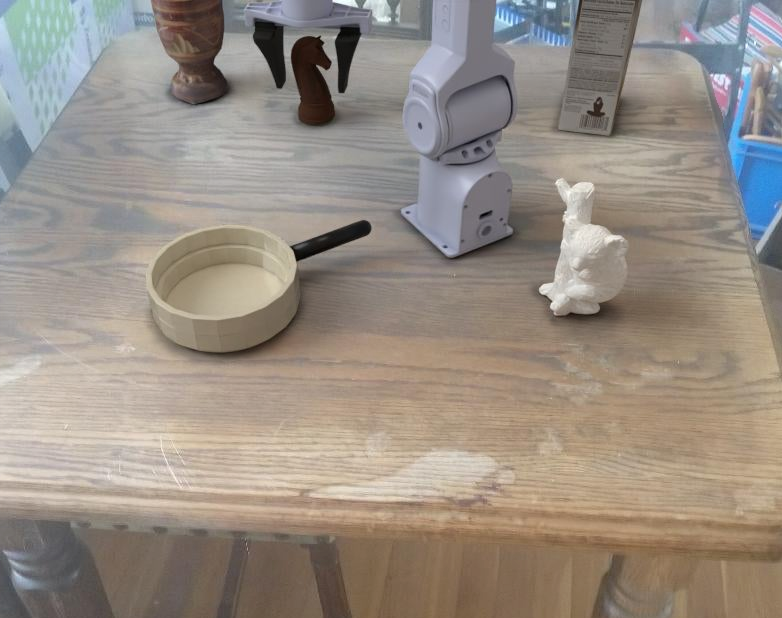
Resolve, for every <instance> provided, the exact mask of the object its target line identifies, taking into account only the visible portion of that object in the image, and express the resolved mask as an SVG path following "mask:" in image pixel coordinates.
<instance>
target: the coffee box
mask: <svg viewBox="0 0 782 618" xmlns="http://www.w3.org/2000/svg"><path fill="white" fill-rule="evenodd" d="M642 3H643V0H578V6H577V12H576V17H575V24H574V31H573V34H572V41H571V46H570V47H571V48H570V53H569V54H570V55H569V58H568V65H567V71H566V78H565V83H564V89H563V95H562V101H561V106H560V113H559V119H558V120H559V121H558V126H557V129H558V130H559V131H565V132H572V133H573V132H574V133H581V134H582V133H583V134H589V135H591V134H592V135H599V136H608V137H610V136H611V135H612V132H613V128H614V125H615V121H616V118H617V115H618V114H617V113H618V109H619V104H620V101H621V97H622V92H623V88H624V84H625V80H626V75H627V71H628V68H629V62H630V57H631V53H632V49H633V45H634V40H635V35H636V31H637V26H638V22H639V18H640V12H641V9H642Z"/></svg>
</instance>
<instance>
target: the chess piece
mask: <svg viewBox="0 0 782 618" xmlns="http://www.w3.org/2000/svg"><path fill="white" fill-rule="evenodd" d="M321 38H322V35H318V36H315V35H314V36H313V35H305V36H302V37H300V38H298V39H297V40H295V42H294V43H293V45H292V48H291V52H290V64H291V69H292V73H293V77H294V80H295V84H296V87H297V88H296V89H297V91H298V95H299V100H300V102H299V103H298V106H297V108H298V109H297V110H298V112H297V118H298V120H299V121H300V122H301V124H304V125H306V126H311V127H321V126H324V125H328V124H330V123H332V122H333V120H335V118H336V109H335V104H334V101H333V100H332V98H333V97H332V94H331V91H330V87H329V85H328V83H327V80H326V78H325V77H324V75H323V73H322V72H321V70H320V68H319V67H321V68H322V69H324V70H325V71H329V70H330V69H331V68H332V64H333V61H332V60H331V59H330V57H329V56H328V55H327V53H326V52H325V50H324V47H323V46H324V45H325V41H324V40H322V39H321Z"/></svg>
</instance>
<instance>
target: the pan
mask: <svg viewBox="0 0 782 618" xmlns="http://www.w3.org/2000/svg"><path fill="white" fill-rule="evenodd" d="M144 276H145V288H146V293H147V297H148V301H149V304H150V308H151V313H152V316H153V320H154V322H155V323H156V324H157V325H156V326H158V328H159V330H160V332H161V333H162V335H163V336H166V337H167V338H168V339H170V340H171V341H173V342H174V343H175V344H177V345H180V346H182V347H186V348H188V349H192V350H195V351H198V352H205V353H206V352H207V353H219V354H220V353H232V352H238V351H239V352H240V351H243V350H247V349H250V348H253V347H255V346H258V345H260V344H262V343H263V344H264V342H266V341H268V340H271V339H272V338H273V337H275V336H276V335H277V334H279V333H280V332H281V331H283V330H284V329H285V328H286V327H288V325H289V324H290V322H291V321H292V319H293V318H294V317H295V315H296V314H297V312H298V308H299V303H300V299H301V294H300V281H299V269H298V262H296V259H295V255H294V252H293V250H292V249H291V248H290V245H288V243H287V242H286V241H285V240H284V238H283V237H280V236H278V235H277V234H274V233H273V232H272V231H269V230H267V229H264V228H259V227H255V226H252V225H248V224H227V223H226V224H218V225H217V224H216V225H211V226H203V227H200V228H197V229H195V230H191V231H188V232H185V233H183V234H181V235H179V236H177V237H176V238H174V239H172V240H170V241H169V242H168V243H166V244H164V245H163V246H162V247H161V248H160V249H159V250H158V251H157V252H156V253H155V254H154V256H153V257H151V259H150V262H149V265H148V266H147V269H146V271H145V275H144Z"/></svg>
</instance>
